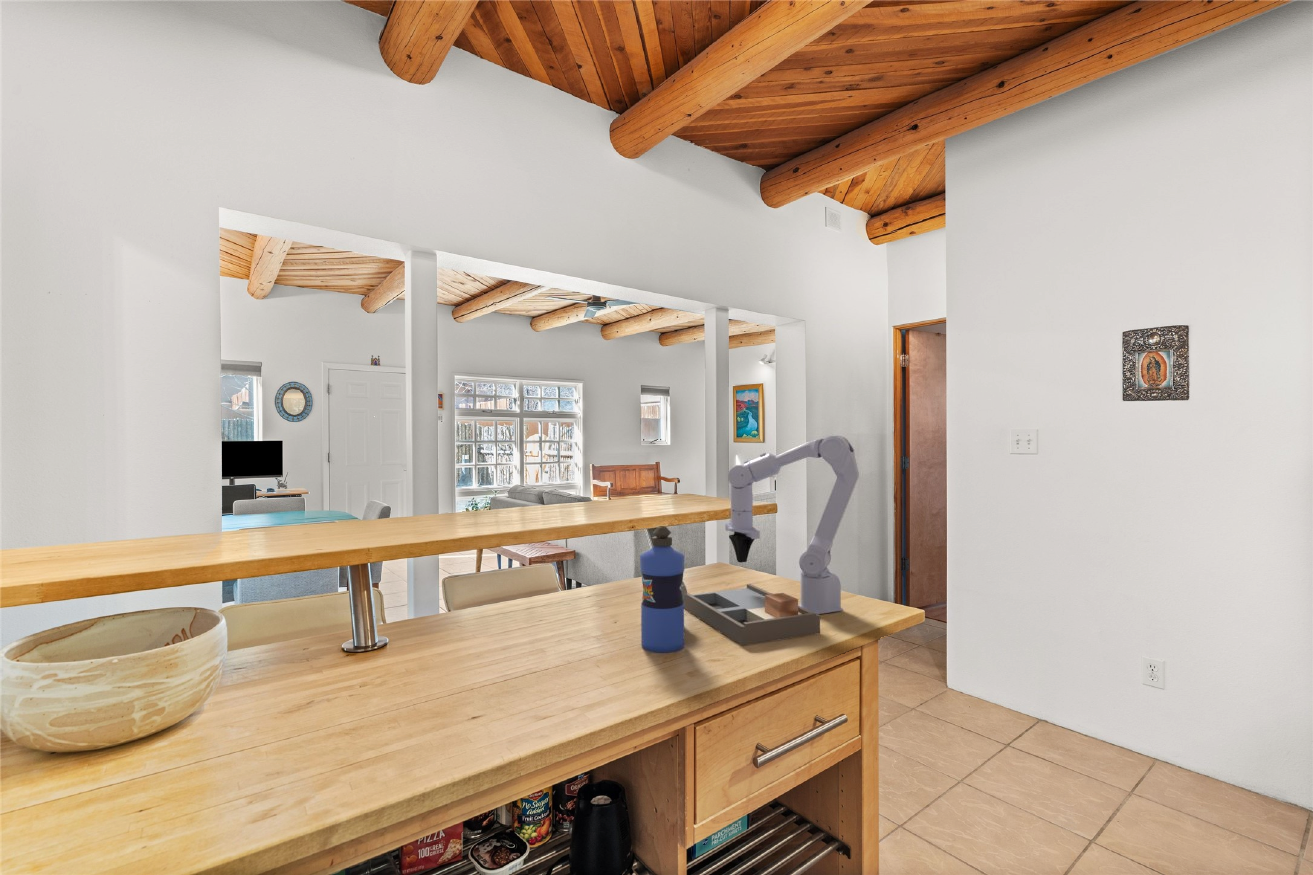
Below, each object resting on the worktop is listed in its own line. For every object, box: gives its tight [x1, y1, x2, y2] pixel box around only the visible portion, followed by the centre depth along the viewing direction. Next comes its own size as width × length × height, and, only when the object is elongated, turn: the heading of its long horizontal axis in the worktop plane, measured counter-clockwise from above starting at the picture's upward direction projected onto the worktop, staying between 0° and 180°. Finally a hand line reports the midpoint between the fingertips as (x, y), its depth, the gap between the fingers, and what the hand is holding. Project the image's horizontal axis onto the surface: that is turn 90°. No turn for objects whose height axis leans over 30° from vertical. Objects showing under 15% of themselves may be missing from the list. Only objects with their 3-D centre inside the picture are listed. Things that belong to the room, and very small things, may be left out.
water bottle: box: [639, 526, 685, 654], centre depth 127 cm, size 9×9×25 cm
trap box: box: [684, 583, 821, 647], centre depth 144 cm, size 20×30×4 cm, turn 22°
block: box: [765, 592, 799, 618], centre depth 138 cm, size 5×6×4 cm
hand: (741, 561), depth 160 cm, fingers closed
